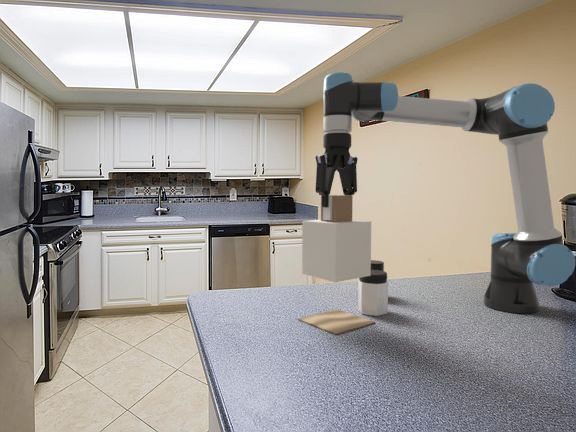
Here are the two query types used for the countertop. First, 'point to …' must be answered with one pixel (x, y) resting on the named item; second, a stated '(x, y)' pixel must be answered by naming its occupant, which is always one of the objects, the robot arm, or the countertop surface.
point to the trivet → (336, 321)
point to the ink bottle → (377, 265)
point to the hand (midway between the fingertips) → (336, 219)
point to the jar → (373, 294)
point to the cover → (337, 244)
